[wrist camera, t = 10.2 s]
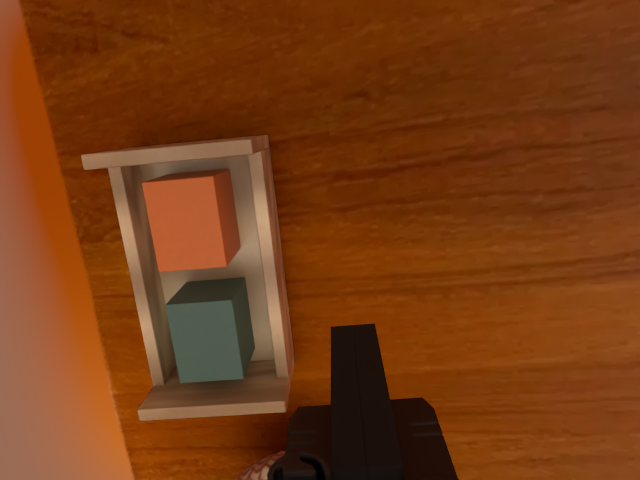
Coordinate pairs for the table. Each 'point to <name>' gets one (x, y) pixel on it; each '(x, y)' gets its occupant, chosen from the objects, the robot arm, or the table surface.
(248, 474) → the acorn
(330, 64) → the table surface
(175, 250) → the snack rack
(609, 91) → the table surface
